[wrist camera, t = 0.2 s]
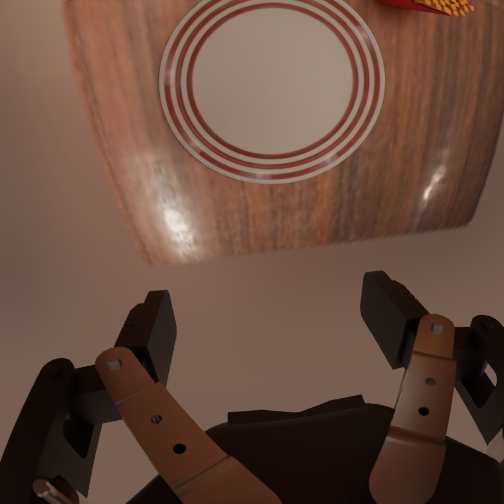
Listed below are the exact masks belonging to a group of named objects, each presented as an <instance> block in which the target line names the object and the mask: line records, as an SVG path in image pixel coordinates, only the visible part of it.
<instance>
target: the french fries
mask: <svg viewBox="0 0 504 504" xmlns="http://www.w3.org/2000/svg"><path fill="white" fill-rule="evenodd" d="M378 1H379V2H380V3H383V4H387V5H391V6H395V7H399V8H404V9H410V10H417V11H424V12H430V13H436V14H442V15H447V16H452V15H455V16H458V15H462V16H465V15H464V11H466V12H468V10H471V11H474V9H473V6H471V5H468V3H467V1H466V0H378ZM464 3H465V4H464ZM462 10H463V11H462Z"/></svg>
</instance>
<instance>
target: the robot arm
mask: <svg viewBox="0 0 504 504" xmlns="http://www.w3.org/2000/svg"><path fill="white" fill-rule="evenodd" d="M360 311H361V315H362V318H363V320H364V322H365V323H366V325H367V327H368V328H369V330H370V331H371V333H372V335H373V337H374V338H375V340H376V342H377V343H378V345H379V347H380V348H381V350H382V352H383V353H384V355H385V357H386V359H387V360H388V362H389V364H390V366H391V367H392V369H397V368H402V367H404V368H405V372H404V375H403V378H402V381H401V385H400V388H399V391H398V394H397V397H396V400H395V403H394V406H393V408H390V407H387V406H383V405H379V404H370V403H365V402H364V400H363V397H362V395H356V396H351V397H346V398H341V399H335V400H330V401H328V402H325V403H323V404H320V405H318V406H315V407H312V408H310V409H307V410H304V411H302V412H295V413H294V412H281V411H269V410H253V411H241V412H228V422H225V423H222V424H219V425H217V426H214V427H212V428H210V429H208V430H206V431H205V432H204V431H203V430H202V429H201V428H200V427H199V426H198V425H197V424H196V423H195V421H194V420H193V419H192V418H191V417H190V416H189V415H188V414H187V413H186V411H185V410H184V409H183V408H182V407H181V406H180V405H179V404H178V402H177V401H176V400H175V399H174V398H173V397H172V395H171V394H170V393H169V392H168V391H167V389H166V385H167V380H168V374H169V369H170V364H171V359H172V354H173V350H174V345H175V340H176V335H177V331H176V330H177V329H176V321H175V317H174V312H173V308H172V304H171V299H170V295H169V292H168V290H158V291H149V293H148V295H147V297H146V299H145V302H144V303H143V304H142V303H141V304H137V305H136V306H135V307H134V308H133V309H132V310H130V312H129V314H128V317H127V319H126V321H125V323H124V325H123V326H124V327H122V329H121V332H120V334H119V337H118V339H117V341H116V343H115V345H114V347H113V348H110V349H107V350H105V351H103V352H102V353H101V354H100V355H99V356H98V357H97V358H96V361H95V365H91V366H86V367H81V368H76V369H75V367H74V365H73V363H72V362H71V361H70V360H69V359H65V358H58V359H54V360H52V361H50V362H48V363H47V364H45V366H43V368H42V369H41V371H40V373H39V375H38V377H37V379H36V381H35V383H34V385H33V387H32V389H31V391H30V393H29V395H28V397H27V399H26V401H25V403H24V405H23V408H22V410H21V412H20V414H19V417H18V419H17V421H16V423H15V426H14V428H13V430H12V433H11V435H10V438H9V440H8V443H7V445H6V448H5V450H4V453H3V456H2V458H1V461H0V504H92V503H91V502H90V501H89V500H88V499H87V495H88V489H89V484H90V478H91V474H92V468H93V464H94V458H95V454H96V449H97V445H98V440H99V436H100V432H101V427H102V424H103V423H107V422H112V421H117V420H122V419H123V420H124V422H125V424H126V425H127V427H128V429H129V430H130V432H131V434H132V435H133V437H134V438H135V440H136V441H137V443H138V444H139V446H140V447H141V449H142V450H143V452H144V453H145V455H146V456H147V458H148V459H149V461H150V462H151V464H152V465H153V467H154V468H155V469H156V471H157V472H158V475H157V476H156V477H155V478H154V479H153V480H152V481H150V482H149V483H148V484H147V485H146V486H145V487H144V488H143V489H142V490H140V491H139V492H138V493H137V494H136V495H135V496H134V497H133V498H132V499H131V500H129V501H128V502H127V503H126V504H504V327H503V326H502V325H501V324H500V323H499V322H498V321H497V320H496V319H494V318H493V317H490V316H487V315H477V316H475V317H474V318H473V319H472V322H471V325H470V327H454V324H453V323H452V322H451V320H449V319H448V318H446V317H444V316H442V315H438V314H430V313H429V312H428V311H427V310H426V309H425V308H424V307H423V306H422V304H420V302H419V301H418V300H417V299H415V297H414V296H413V295H412V294H410V291H409V290H408V289H407V288H406V287H405V286H404V285H402V284H400V283H399V282H397V281H395V280H393V281H392V280H391V279H390V277H389V276H388V275H387V274H386V273H385V272H384V271H382V270H381V271H373V272H366V273H365V274H364V278H363V287H362V295H361V304H360ZM487 364H489V365H490V366H491V367H492V369H493V370H494V372H495V373H496V376H497V384H496V386H494V385H493V383H492V382H491V380H490V379H489V377H488V376H487V375H486V373H485V372H484V371H485V369H486V366H487ZM454 387H455V388H456V390H457V391H458V393H459V395H460V397H461V398H462V400H463V402H464V403H465V405H466V407H467V409H468V410H469V412H470V414H471V416H472V418H473V419H474V421H475V423H476V425H477V427H478V429H479V430H480V432H481V434H482V436H483V438H484V440H485V442H486V444H487V446H488V448H487V455H486V454H483V453H482V452H479V451H477V450H475V449H473V448H471V447H469V446H467V445H464V444H463V443H460V442H458V441H456V440H454V439H452V438H450V437H448V436H446V432H447V427H448V422H449V417H450V411H451V405H452V398H453V391H454Z"/></svg>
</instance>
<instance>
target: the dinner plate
mask: <svg viewBox="0 0 504 504" xmlns="http://www.w3.org/2000/svg"><path fill="white" fill-rule="evenodd" d="M384 88H385V74H384V65H383V60H382V56H381V53H380V50H379V47H378V44H377V42H376V40H375V38H374V36H373V34H372V33H371V31H370V29H369V28H368V26H367V25H366V23H365V22H364V21H363V19H362V18H361V17H360V16H359V15H358V14H357V13H356V12H355V11H354V10H353V9H352V8H351V7H350V6H349V5H348V4H346V3H345V2H344V1H343V0H203V1H201V2H200V3H199V4H197V5H196V6H195V7H194V8H193V9H192V10H191V11H190V12H189V13H188V14H187V15H186V16H185V17H184V18H183V19H182V20H181V22H180V23H179V24H178V25H177V27H176V28H175V30H174V31H173V33H172V35H171V37H170V39H169V41H168V43H167V46H166V48H165V51H164V54H163V57H162V61H161V66H160V73H159V91H160V99H161V104H162V108H163V111H164V114H165V117H166V119H167V121H168V124H169V125H170V127H171V129H172V131H173V133H174V134H175V136H176V137H177V139H178V140H179V141H180V143H181V144H182V145H183V146H184V147H185V148H186V150H187V151H188V152H190V153H191V154H192V155H193V156H194V157H195V158H196V159H198V160H199V161H200V162H201V163H203V164H204V165H206V166H208V167H209V168H211V169H213V170H215V171H217V172H219V173H221V174H223V175H226V176H229V177H231V178H234V179H238V180H242V181H246V182H252V183H260V184H280V183H289V182H295V181H300V180H304V179H307V178H310V177H313V176H316V175H318V174H321V173H323V172H325V171H327V170H329V169H330V168H332V167H334V166H336V165H337V164H339V163H340V162H342V161H343V160H344V159H345V158H347V157H348V156H349V155H350V154H351V153H352V152H353V151H355V150H356V148H357V147H358V146H359V145H360V144H361V143H362V142H363V141H364V139H365V138H366V137H367V135H368V134H369V132H370V131H371V129H372V127H373V125H374V123H375V122H376V119H377V117H378V115H379V112H380V109H381V105H382V102H383V97H384Z"/></svg>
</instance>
